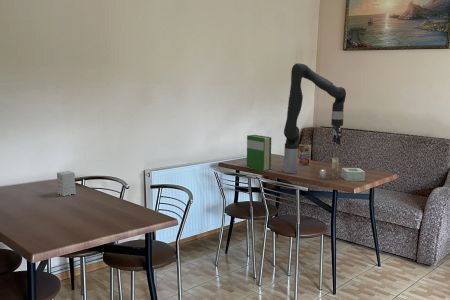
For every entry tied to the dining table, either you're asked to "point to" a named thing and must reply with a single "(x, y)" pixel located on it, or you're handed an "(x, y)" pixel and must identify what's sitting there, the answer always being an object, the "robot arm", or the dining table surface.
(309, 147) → the candy box
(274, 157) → the dining table surface
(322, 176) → the short pin
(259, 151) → the hardback book
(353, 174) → the hole block
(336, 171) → the tall pin
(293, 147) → the robot arm
